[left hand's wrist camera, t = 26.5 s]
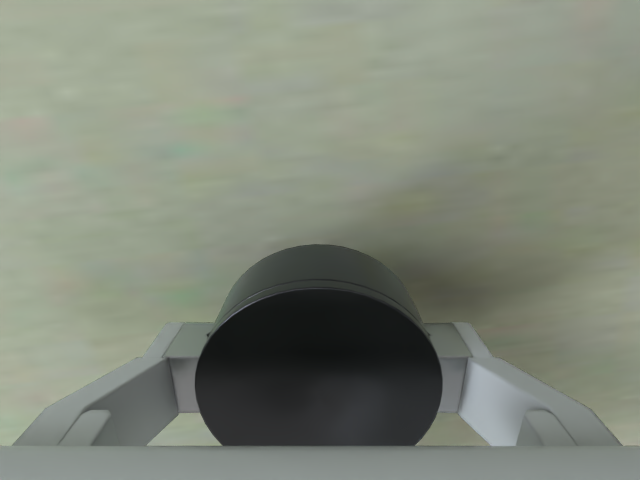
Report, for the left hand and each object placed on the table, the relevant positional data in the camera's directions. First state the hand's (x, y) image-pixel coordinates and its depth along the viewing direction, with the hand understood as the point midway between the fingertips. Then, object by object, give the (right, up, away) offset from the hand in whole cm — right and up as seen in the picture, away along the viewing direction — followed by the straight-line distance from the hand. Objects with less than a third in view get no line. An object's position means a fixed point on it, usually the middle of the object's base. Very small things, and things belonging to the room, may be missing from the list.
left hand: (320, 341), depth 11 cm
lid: (0, -1, -2) cm, 2 cm away
